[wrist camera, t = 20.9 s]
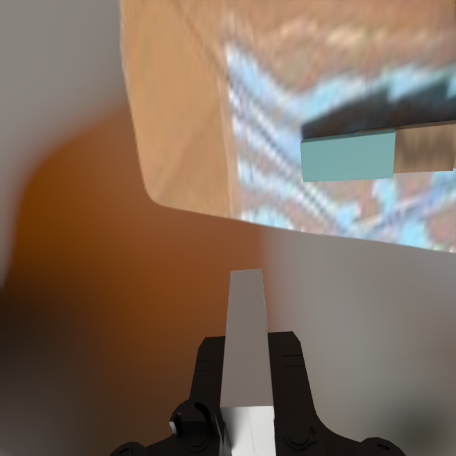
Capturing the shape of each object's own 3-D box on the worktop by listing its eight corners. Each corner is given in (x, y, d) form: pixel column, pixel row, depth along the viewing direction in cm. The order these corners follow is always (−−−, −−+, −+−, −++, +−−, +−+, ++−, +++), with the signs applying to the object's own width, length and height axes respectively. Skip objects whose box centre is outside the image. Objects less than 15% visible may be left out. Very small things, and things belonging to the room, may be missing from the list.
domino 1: (300, 143, 34) (395, 132, 29) (304, 138, 36) (394, 128, 31) (303, 182, 36) (392, 178, 31) (306, 176, 38) (391, 171, 33)
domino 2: (355, 134, 33) (461, 123, 29) (356, 130, 35) (455, 120, 31) (354, 174, 35) (453, 170, 31) (355, 169, 37) (448, 164, 33)
